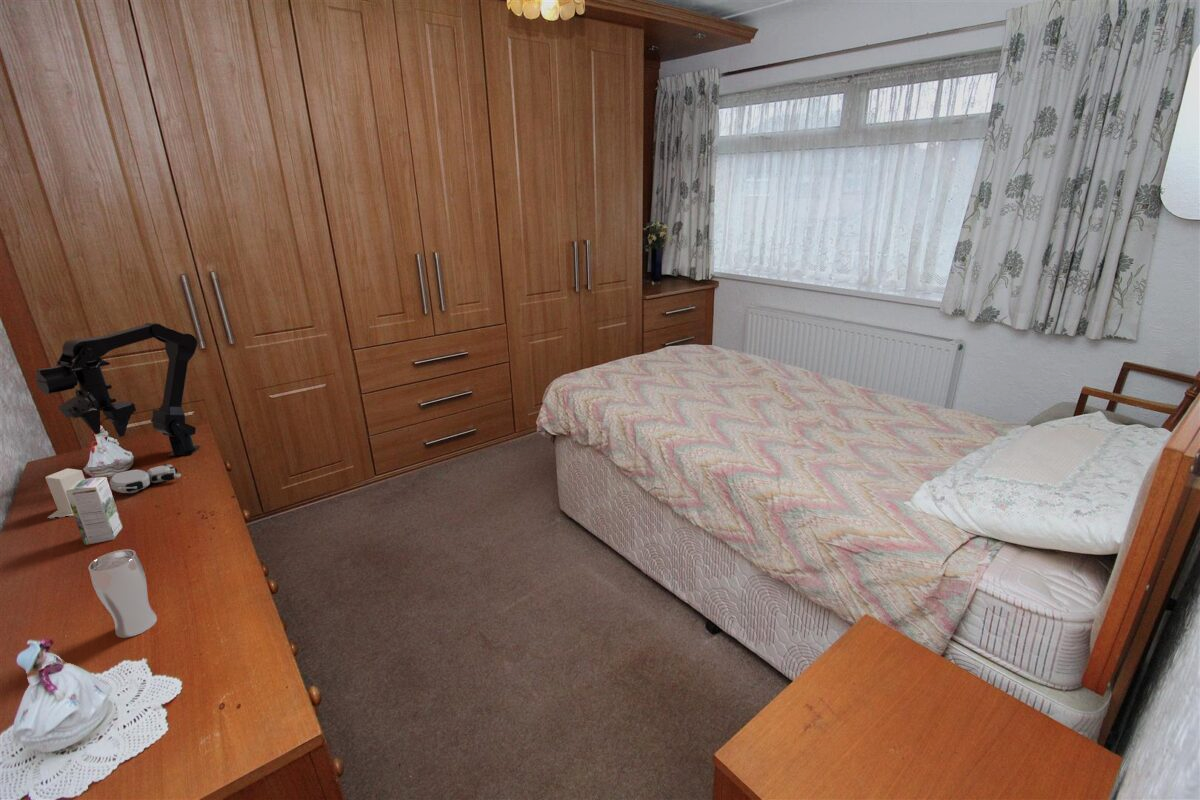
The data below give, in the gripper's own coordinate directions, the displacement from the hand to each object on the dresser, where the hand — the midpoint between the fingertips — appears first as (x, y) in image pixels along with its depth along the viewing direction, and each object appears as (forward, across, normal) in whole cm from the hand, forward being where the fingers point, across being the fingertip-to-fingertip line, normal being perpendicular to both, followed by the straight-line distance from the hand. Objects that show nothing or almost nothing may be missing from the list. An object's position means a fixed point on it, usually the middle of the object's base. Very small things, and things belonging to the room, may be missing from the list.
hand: (109, 434), depth 156 cm
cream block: (+13, +8, -18) cm, 23 cm away
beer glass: (+13, +68, -47) cm, 83 cm away
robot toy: (+13, +13, -3) cm, 19 cm away
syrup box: (+13, +29, -26) cm, 41 cm away
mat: (+13, +8, -18) cm, 23 cm away
